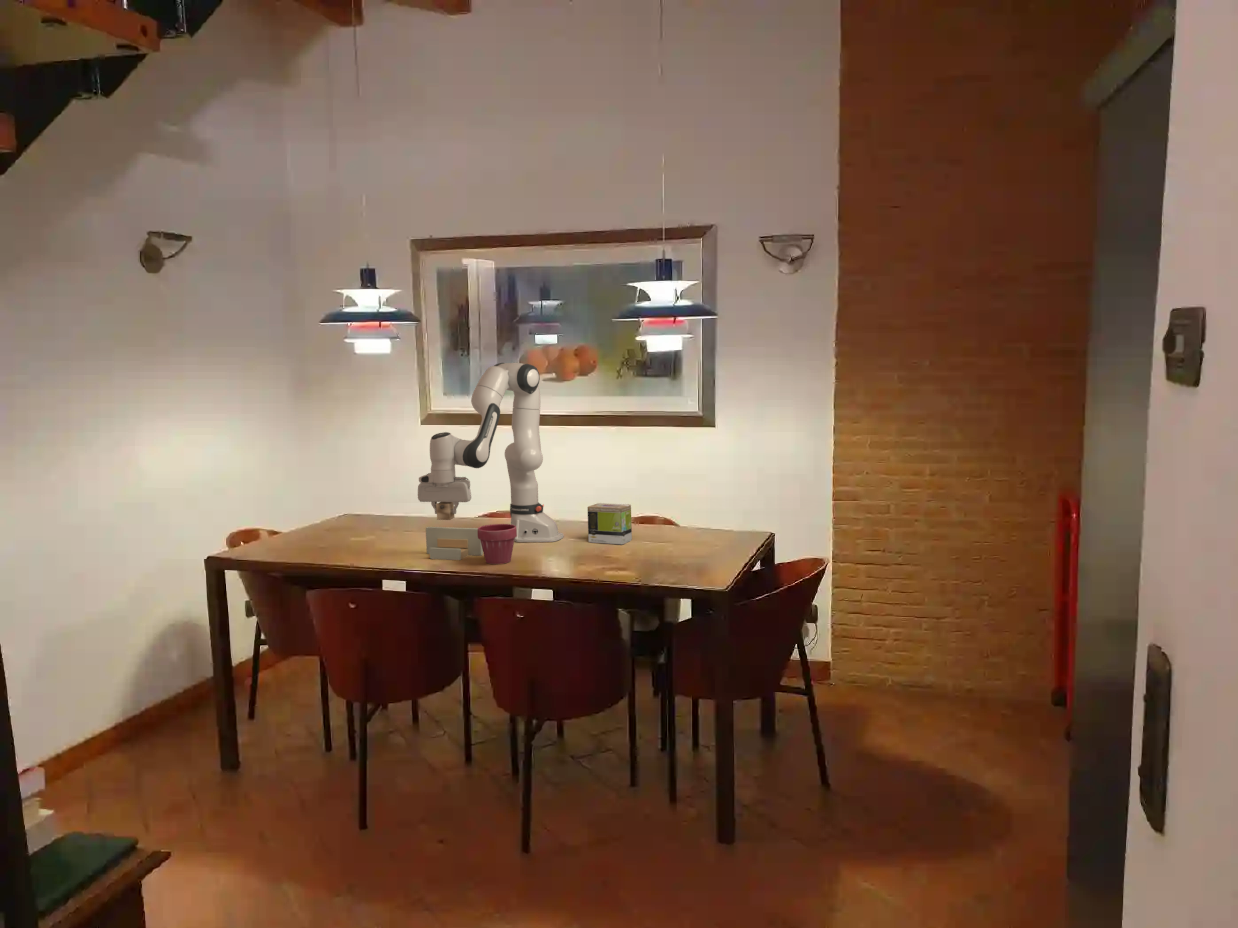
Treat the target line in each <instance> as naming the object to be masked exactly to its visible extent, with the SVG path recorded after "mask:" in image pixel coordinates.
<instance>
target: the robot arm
mask: <svg viewBox="0 0 1238 928" xmlns="http://www.w3.org/2000/svg"><path fill="white" fill-rule="evenodd" d="M540 377H541V376H540V373H539V370H538V368H537V367H536V366H534V365H533V364H529V363H521V362H506V363H505V362H499V363H498V362H497V363H496V364H493V365H492V366H489V367H488V368H487V369H486V370H485V372H483V374H482V375H481V377H480V379H479V380H478V383H477V384H476V386H475V387H474V390H473V393H472V395H471V400H470V403H471V405H472V408H473V409H474V410H475V412H476V413H478V414H479V415H480V416H481V421H480V425H479V428H478V432H477V433H476V437H475V438H473V439H471V440H468V439H462V438H458V437H457V436H454V435H453V434H452V433H451V432H447V431H445V432H444V431H443V432H438V433H435V434H434V435H432V436H431V438H430V441H429V459H430V461H431V462H430V463H431V466H430V472H429V473H426V474H425V475H421V476H419V477H418V482H419V484H418V485H417V499H418V502H420V503H430V504H431V507H432V508H433V510H434V514H435V515H437V509H436V504H437V503H439V502H453V505H454V508H453V509H451V514H454V515H456V514H457V509H458V507H459V504H460V503H469V502H470V501H471V500H472V492H471V481H470V479H469V478H467V477H466V476H462V477H461V476H456V465H457V466H465V467H470V468H474V469H481V468H483V467H485V465H487V463H488V462H489V458H490V455H491V447H492V443H493V440H494V437H495V434H496V431H497V428H498V425H499V420H500V418H501V409H500V408H501V407H500V406H501V403H502V400H503V398H504V396H505V394H506V391H510V392H511V391H512V392H513V394H514V396H513V402H512V412H511V413H512V414H511V415H512V416H511V429H512V434H513V442H511V443H510V444H509V445H507V446H506V447H505V449H504V458H505V461H506V468H507V474H508V478H509V484H510V504H509V513H510V514H509V515H510V524H511V525H515V526H516V530H517V536H516V537H515V538H514V542H516V543H540V542H541V543H545V542H547V543H549V542H551V543H553V542H558V541H560V540H562V539H563V538H564V533H563V532H559V529H558V524H557V522H556V521H555V520H554V519H553V518H551V517H550V515H547V514H546V513H545V512H544V507H545V504H544V503H543V504H542V503H540V502H539V483H538V481H537V479H536V472H535V470H537V469H539V468H540V467H541V466H542V464H543V461H544V456H543V455H544V454H543V453H542V446H541V444H542V443H541V436H540V421H541V420H540V415H541V391H540V386H539V384H540Z"/></svg>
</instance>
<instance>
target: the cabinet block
mask: <svg viewBox="0 0 1238 928" xmlns="http://www.w3.org/2000/svg"><path fill="white" fill-rule="evenodd" d="M453 508H454V505H453V502H437V504H436V509H437V514H436V520H438V521H451V520H453V519H455V514H451V509H453Z"/></svg>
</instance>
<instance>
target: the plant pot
mask: <svg viewBox="0 0 1238 928" xmlns="http://www.w3.org/2000/svg"><path fill="white" fill-rule="evenodd" d="M477 528H478V539H480V541H481V545H482V549H483V556H484V559H485V563H486V564H489V565H490V564H491V565H502V564H508V563H510V562H511V561H512V555H513V549H514V544H515V541H514V538H515V537H516V536H517V530H516V526H515V525H511V523H493V524H485V525H481V526H479V527H477Z"/></svg>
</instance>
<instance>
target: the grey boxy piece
mask: <svg viewBox="0 0 1238 928" xmlns="http://www.w3.org/2000/svg"><path fill="white" fill-rule="evenodd" d="M478 528H479V527H451V526H449V527H446V526H445V527H444V526H443V527H442V526H426V527H425V543H426V554H427V555H429V559H430V560H452V561H453V560H454V561H461V560H463V559H465V558H467V557H468V556H476V557H477V556H484V553H483V549H482V545H481V541H480V539H478Z"/></svg>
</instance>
